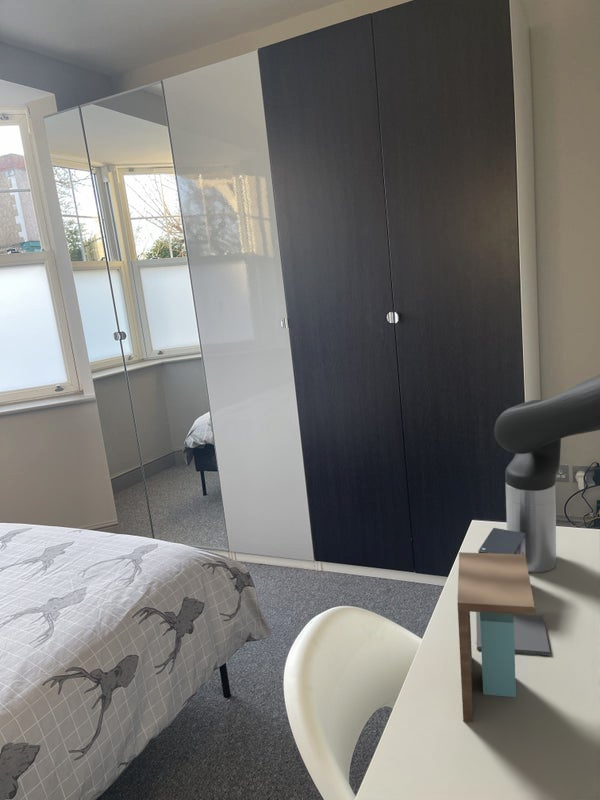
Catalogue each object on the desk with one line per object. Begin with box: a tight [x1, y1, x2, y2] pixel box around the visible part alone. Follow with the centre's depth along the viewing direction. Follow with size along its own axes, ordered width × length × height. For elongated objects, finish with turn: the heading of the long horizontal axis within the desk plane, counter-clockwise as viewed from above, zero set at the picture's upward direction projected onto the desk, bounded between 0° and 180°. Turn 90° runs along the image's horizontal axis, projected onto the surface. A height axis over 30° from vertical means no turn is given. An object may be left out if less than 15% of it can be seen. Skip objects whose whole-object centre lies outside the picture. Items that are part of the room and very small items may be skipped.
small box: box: [477, 527, 525, 554], centre depth 112 cm, size 11×6×10 cm, turn 148°
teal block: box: [480, 612, 517, 698], centre depth 88 cm, size 4×4×12 cm
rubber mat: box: [475, 612, 551, 656], centre depth 101 cm, size 10×11×1 cm
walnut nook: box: [457, 551, 536, 723], centre depth 86 cm, size 14×10×18 cm
